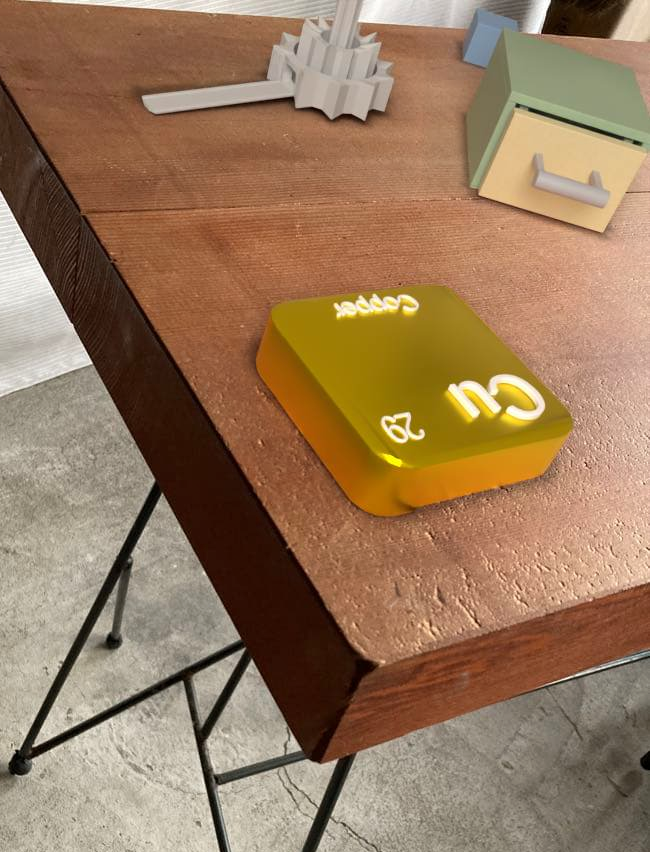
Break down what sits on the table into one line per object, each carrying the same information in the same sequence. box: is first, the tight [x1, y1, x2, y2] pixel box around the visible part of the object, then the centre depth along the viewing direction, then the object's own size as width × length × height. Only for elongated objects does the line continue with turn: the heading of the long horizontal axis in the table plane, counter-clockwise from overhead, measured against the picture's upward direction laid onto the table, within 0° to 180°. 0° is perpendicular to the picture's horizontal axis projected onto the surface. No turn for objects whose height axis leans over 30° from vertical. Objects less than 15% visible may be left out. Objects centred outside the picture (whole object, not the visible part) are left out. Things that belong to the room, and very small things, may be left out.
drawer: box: [477, 103, 648, 234], centre depth 84 cm, size 18×11×7 cm, turn 172°
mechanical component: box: [141, 0, 395, 122], centre depth 82 cm, size 11×25×15 cm, turn 136°
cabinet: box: [465, 27, 650, 190], centre depth 88 cm, size 15×13×9 cm
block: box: [462, 7, 520, 69], centre depth 105 cm, size 5×5×5 cm
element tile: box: [255, 284, 575, 518], centre depth 60 cm, size 15×15×5 cm
